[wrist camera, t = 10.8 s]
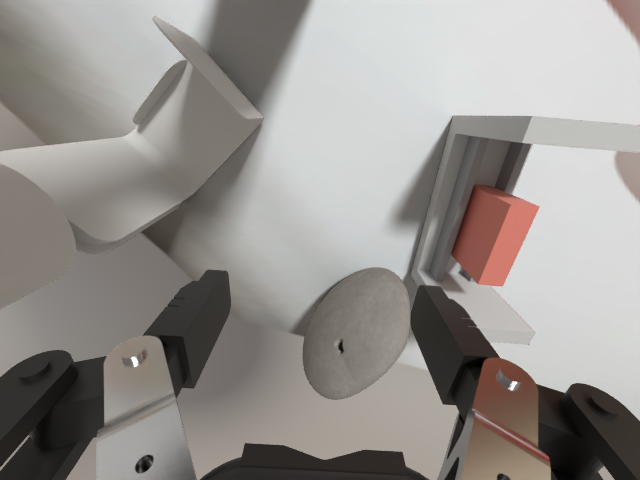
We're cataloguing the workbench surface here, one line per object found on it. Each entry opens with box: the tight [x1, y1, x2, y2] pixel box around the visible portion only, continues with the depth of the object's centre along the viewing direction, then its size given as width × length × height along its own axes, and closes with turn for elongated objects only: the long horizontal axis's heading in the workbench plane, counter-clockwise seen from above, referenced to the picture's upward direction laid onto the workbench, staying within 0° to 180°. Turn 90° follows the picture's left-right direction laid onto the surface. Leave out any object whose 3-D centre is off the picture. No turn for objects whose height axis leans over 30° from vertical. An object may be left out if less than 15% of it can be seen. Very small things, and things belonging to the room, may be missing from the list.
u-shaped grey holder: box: [411, 116, 640, 345], centre depth 32 cm, size 24×10×14 cm, turn 176°
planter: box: [303, 268, 410, 400], centre depth 36 cm, size 18×7×19 cm, turn 136°
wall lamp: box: [0, 16, 264, 309], centre depth 22 cm, size 10×21×30 cm, turn 131°
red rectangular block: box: [451, 184, 539, 286], centre depth 33 cm, size 10×3×9 cm, turn 175°
